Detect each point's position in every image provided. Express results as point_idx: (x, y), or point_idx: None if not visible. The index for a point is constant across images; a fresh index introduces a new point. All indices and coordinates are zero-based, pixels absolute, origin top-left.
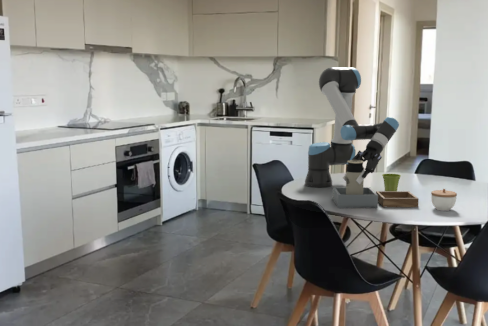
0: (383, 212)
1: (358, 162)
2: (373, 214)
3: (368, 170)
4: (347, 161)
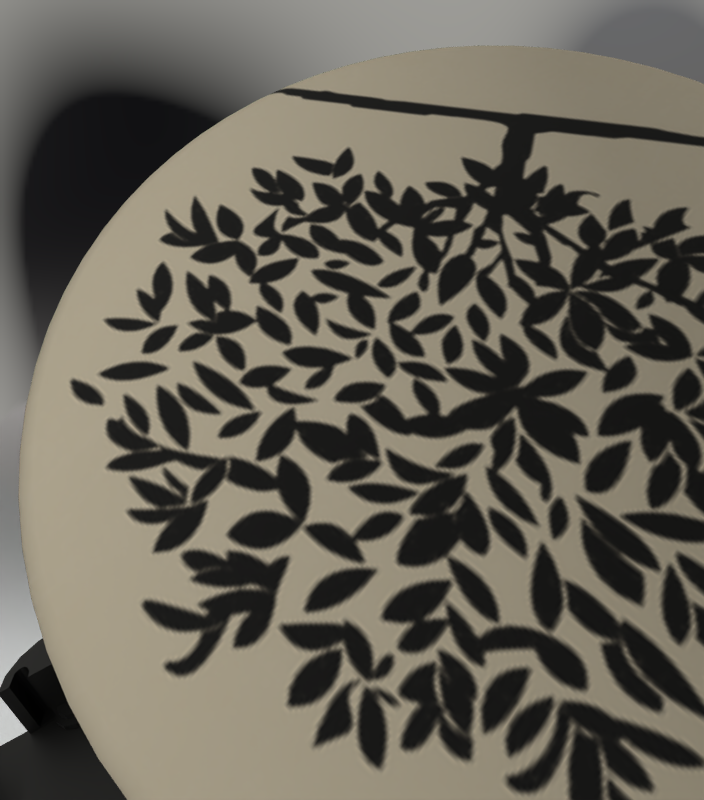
0: (6, 618)
1: (58, 306)
2: (10, 495)
3: (19, 746)
4: (563, 57)
